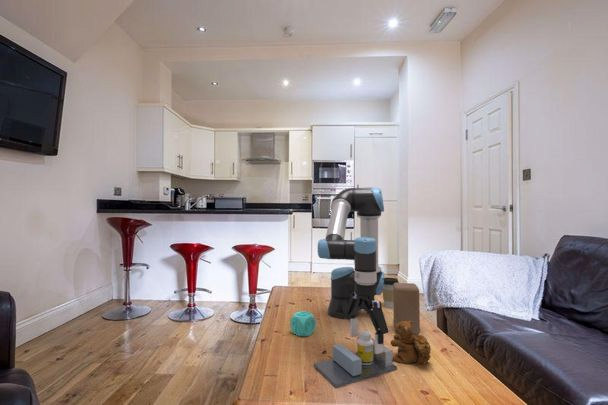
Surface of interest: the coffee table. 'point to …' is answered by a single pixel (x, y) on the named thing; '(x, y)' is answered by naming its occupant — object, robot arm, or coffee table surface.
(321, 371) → the vise base
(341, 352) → the sliding jaw
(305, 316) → the decorative dice
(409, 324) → the stuffed squirrel
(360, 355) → the supplement bottle
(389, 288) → the coffee cup
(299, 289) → the coffee table surface
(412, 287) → the block
